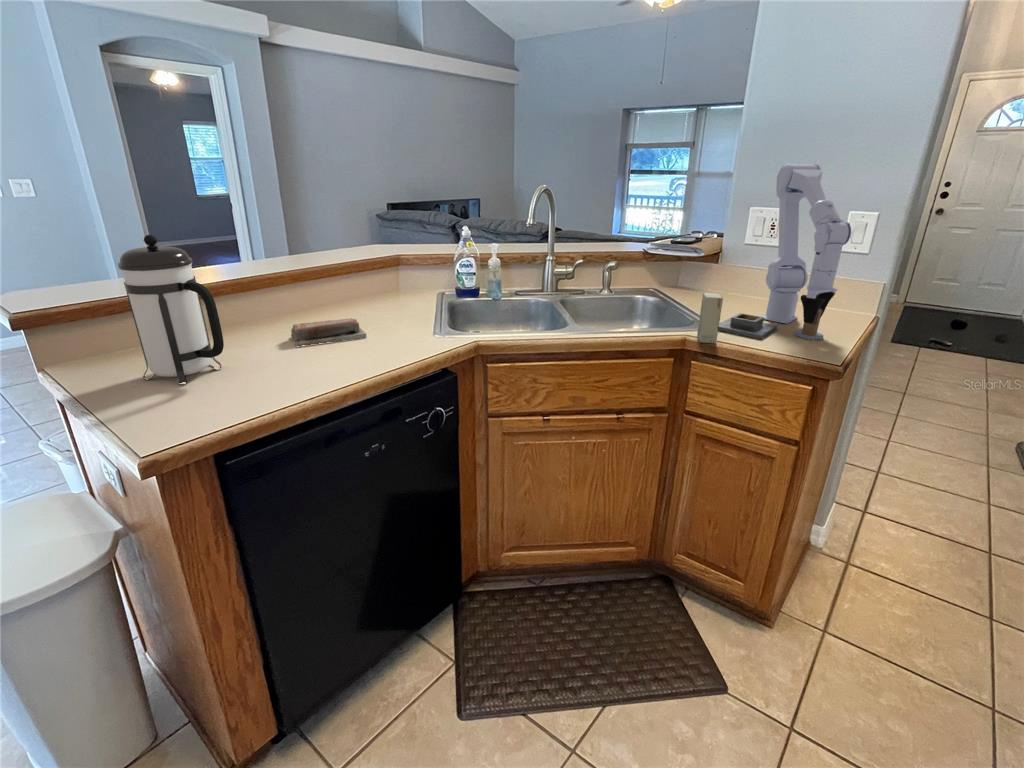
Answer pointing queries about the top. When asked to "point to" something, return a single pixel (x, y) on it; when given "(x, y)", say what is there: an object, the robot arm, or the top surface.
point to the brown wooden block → (812, 325)
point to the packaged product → (326, 331)
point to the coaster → (800, 335)
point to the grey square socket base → (747, 326)
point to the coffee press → (170, 310)
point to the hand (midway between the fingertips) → (812, 319)
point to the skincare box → (709, 317)
